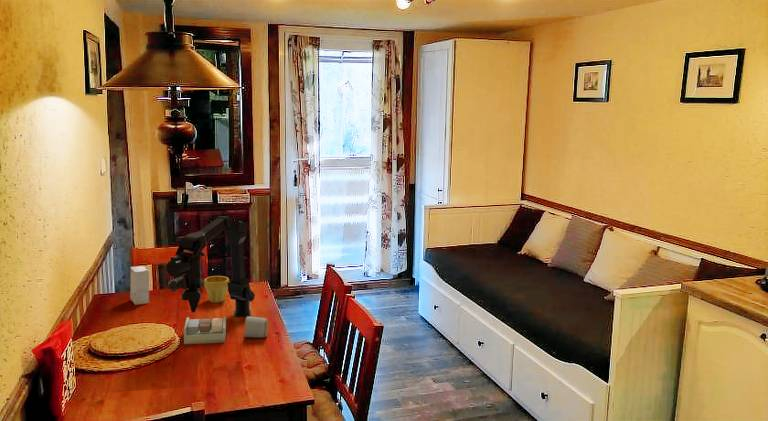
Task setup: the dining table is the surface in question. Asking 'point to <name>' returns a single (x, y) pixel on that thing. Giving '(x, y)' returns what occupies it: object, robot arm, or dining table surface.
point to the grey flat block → (193, 325)
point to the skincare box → (139, 285)
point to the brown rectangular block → (205, 325)
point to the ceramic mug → (256, 327)
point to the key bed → (204, 335)
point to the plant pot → (216, 288)
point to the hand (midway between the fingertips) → (193, 311)
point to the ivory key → (217, 324)
